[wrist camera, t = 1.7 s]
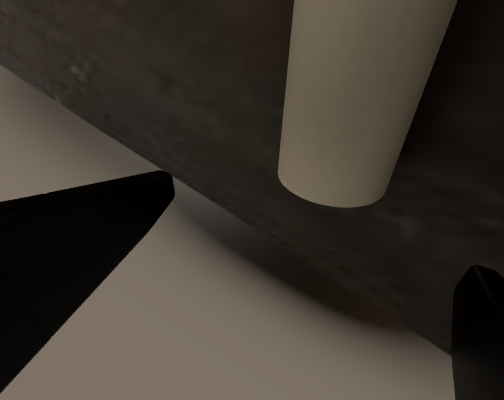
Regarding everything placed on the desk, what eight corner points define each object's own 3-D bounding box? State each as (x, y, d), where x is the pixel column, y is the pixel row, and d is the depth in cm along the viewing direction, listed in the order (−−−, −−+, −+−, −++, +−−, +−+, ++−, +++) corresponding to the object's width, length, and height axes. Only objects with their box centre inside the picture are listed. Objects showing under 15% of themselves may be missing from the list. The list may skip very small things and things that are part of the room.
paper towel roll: (495, -127, 10) (568, -247, 5) (388, 167, 17) (381, 222, 12) (329, -108, 12) (282, -183, 7) (296, 147, 19) (261, 188, 14)
